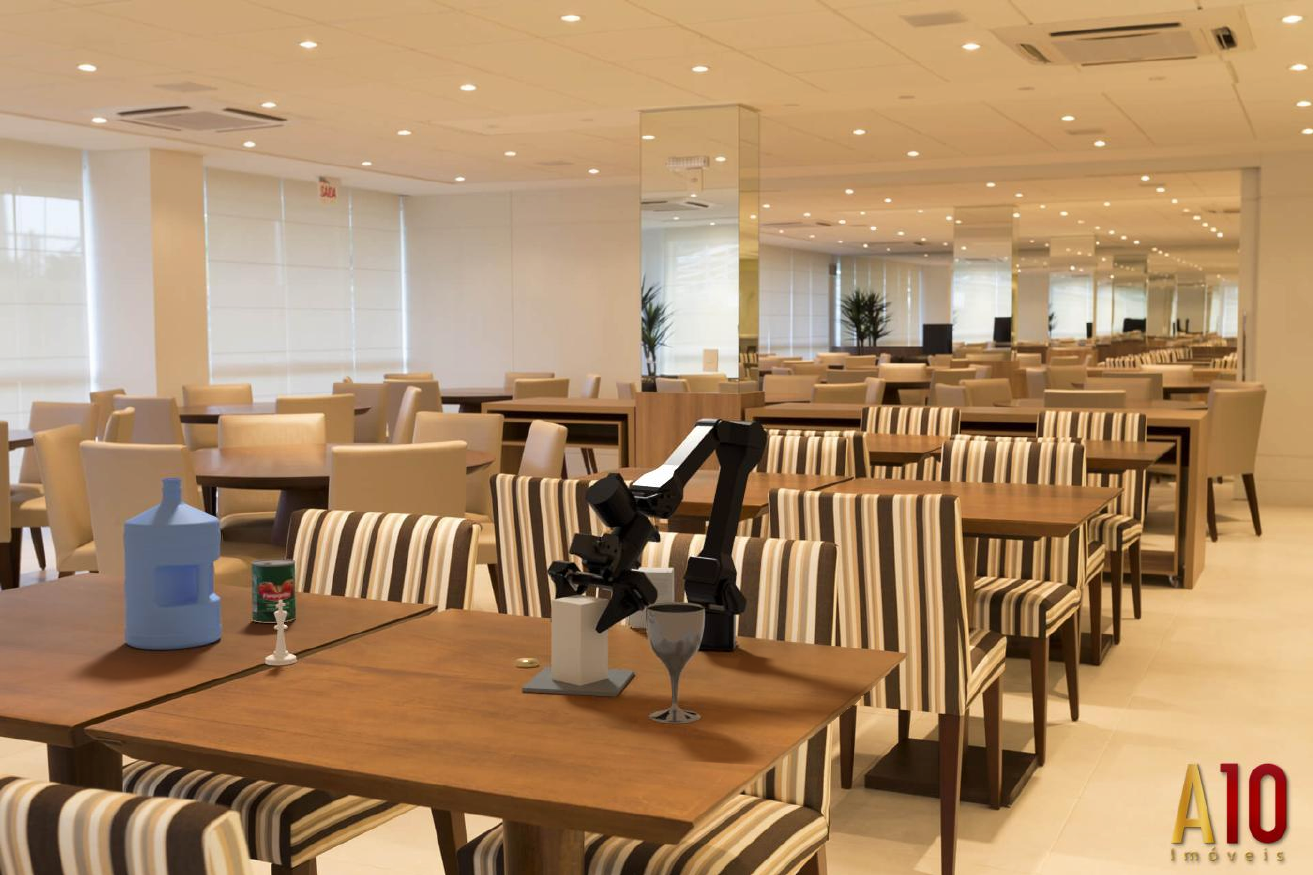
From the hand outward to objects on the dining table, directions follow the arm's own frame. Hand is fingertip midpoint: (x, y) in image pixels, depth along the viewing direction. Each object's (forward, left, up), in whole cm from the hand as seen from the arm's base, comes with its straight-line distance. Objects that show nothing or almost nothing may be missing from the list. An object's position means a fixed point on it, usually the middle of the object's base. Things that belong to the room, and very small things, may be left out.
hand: (574, 627), depth 194 cm
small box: (-4, -46, -9) cm, 47 cm away
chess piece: (+49, -5, -9) cm, 50 cm away
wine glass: (-18, +15, -9) cm, 25 cm away
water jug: (+74, -16, -9) cm, 77 cm away
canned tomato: (+66, -37, -9) cm, 77 cm away
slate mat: (-1, -1, -8) cm, 9 cm away
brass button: (+10, -11, -9) cm, 18 cm away
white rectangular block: (-1, -1, -8) cm, 8 cm away
